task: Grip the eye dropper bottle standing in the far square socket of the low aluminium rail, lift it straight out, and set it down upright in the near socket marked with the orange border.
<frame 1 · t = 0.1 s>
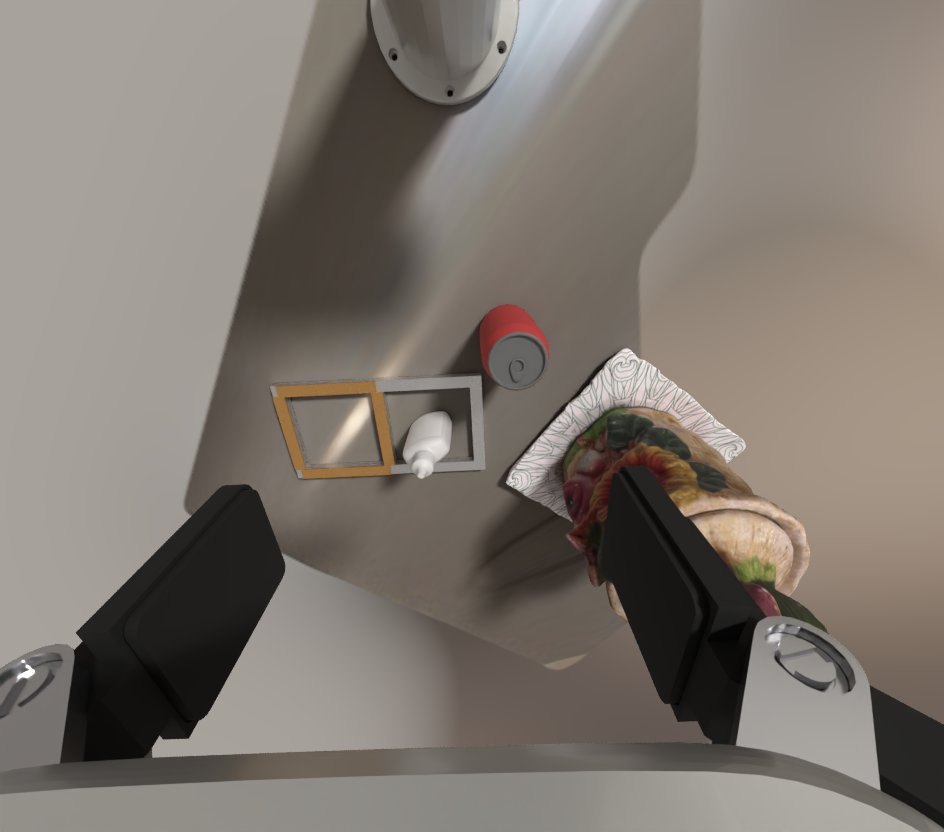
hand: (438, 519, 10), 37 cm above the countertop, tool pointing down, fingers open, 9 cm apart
beer can: (506, 331, 45), on the countertop
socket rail: (385, 426, 50), on the countertop
cookie jar: (618, 456, 53), on the countertop
eye dropper bottle: (431, 423, 50), resting in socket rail
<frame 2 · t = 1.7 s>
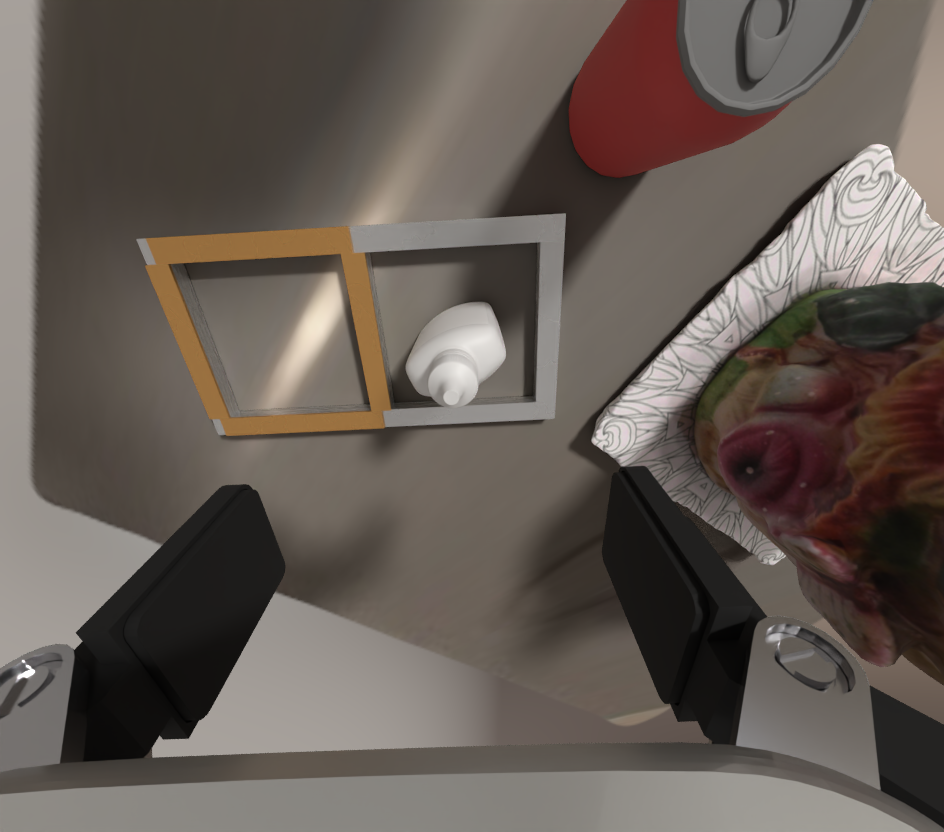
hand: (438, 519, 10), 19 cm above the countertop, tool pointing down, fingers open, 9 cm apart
beer can: (622, 111, 21), on the countertop
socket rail: (373, 334, 27), on the countertop
cookie jar: (791, 395, 29), on the countertop
eye dropper bottle: (459, 329, 27), resting in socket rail
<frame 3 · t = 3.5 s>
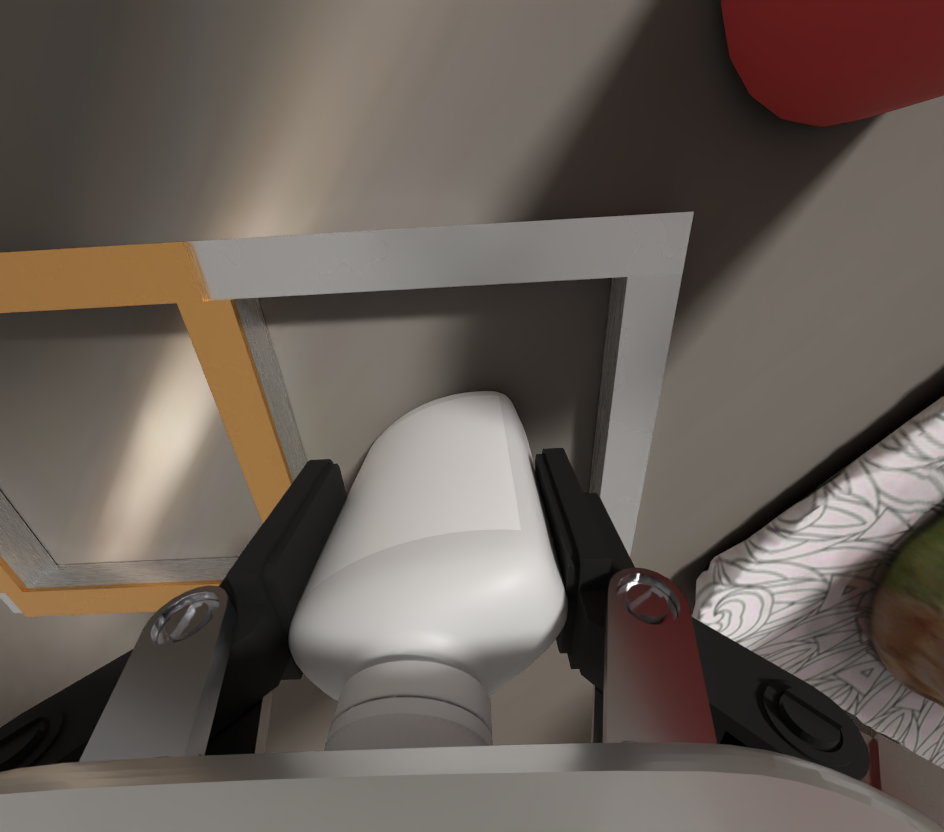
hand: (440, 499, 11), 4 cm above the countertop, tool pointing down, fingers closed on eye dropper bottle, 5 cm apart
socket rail: (281, 446, 14), on the countertop
eye dropper bottle: (447, 436, 14), resting in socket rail, touching gripper
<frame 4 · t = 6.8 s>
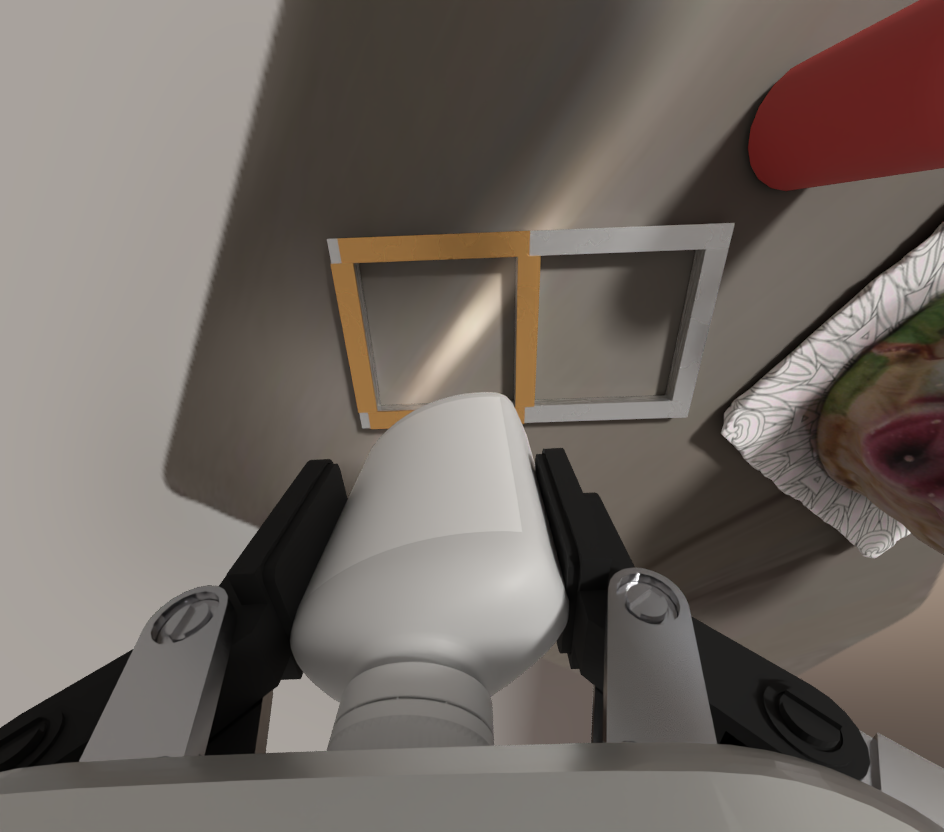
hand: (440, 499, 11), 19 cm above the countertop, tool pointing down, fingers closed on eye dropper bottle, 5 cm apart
beer can: (795, 130, 23), on the countertop
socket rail: (524, 333, 28), on the countertop
cookie jar: (909, 392, 31), on the countertop
eye dropper bottle: (448, 437, 14), point 16 cm above the countertop, touching gripper
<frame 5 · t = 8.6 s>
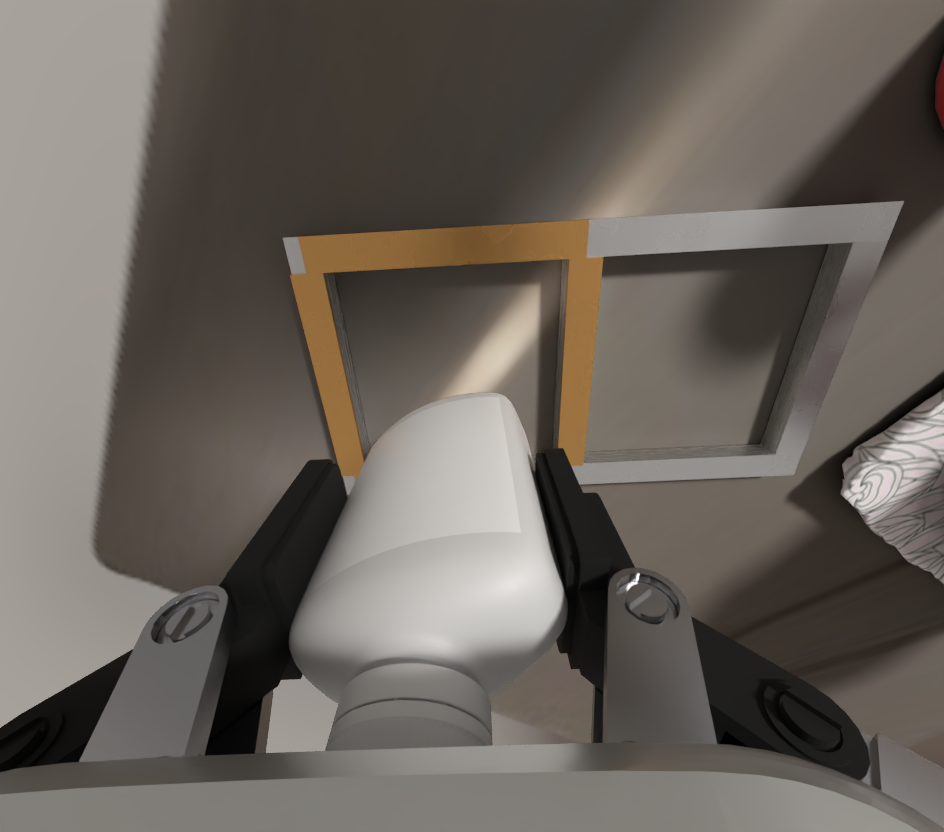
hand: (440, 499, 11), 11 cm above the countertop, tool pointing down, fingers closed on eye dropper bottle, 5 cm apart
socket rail: (570, 366, 20), on the countertop
eye dropper bottle: (447, 437, 14), point 7 cm above the countertop, touching gripper
when the fingers open (5 cm above the countertop, at t = 10.1 s): eye dropper bottle drops 1 cm, resting in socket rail.
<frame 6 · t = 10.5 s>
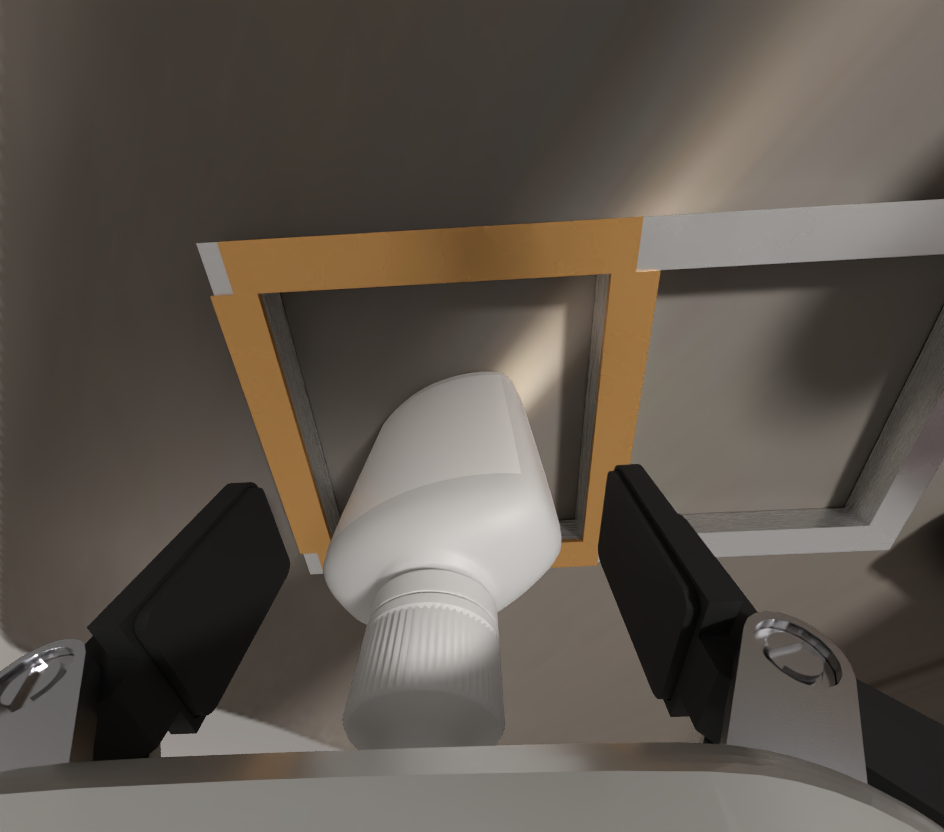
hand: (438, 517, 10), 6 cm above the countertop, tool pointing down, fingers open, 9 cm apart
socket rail: (602, 413, 15), on the countertop
eye dropper bottle: (453, 414, 15), resting in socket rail
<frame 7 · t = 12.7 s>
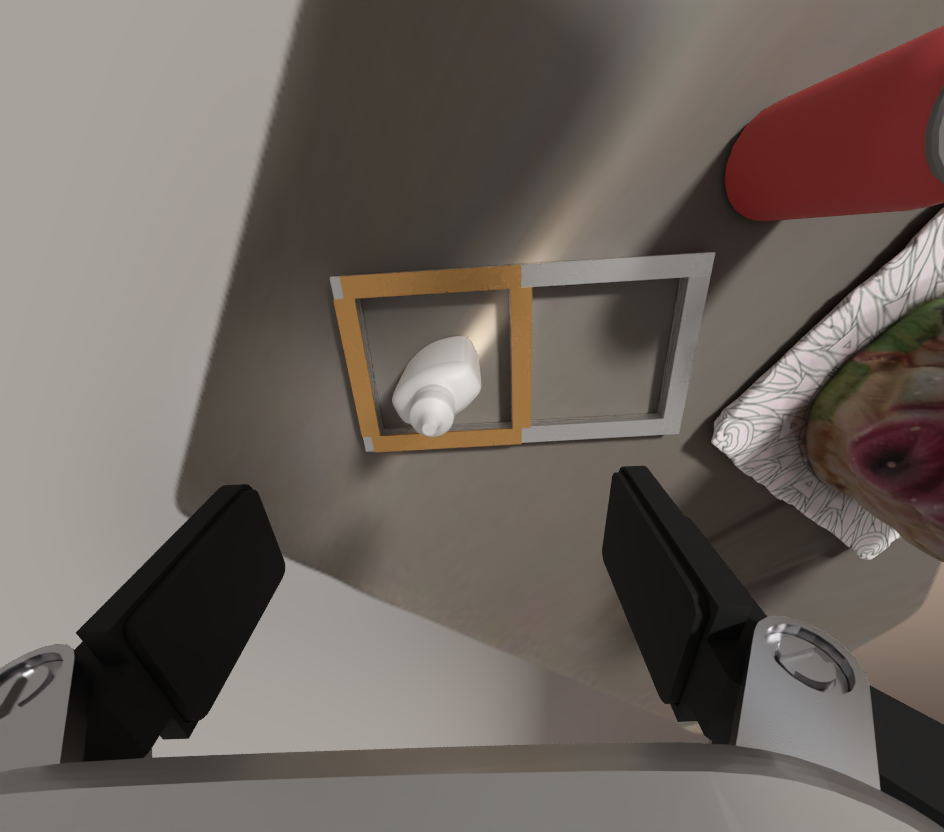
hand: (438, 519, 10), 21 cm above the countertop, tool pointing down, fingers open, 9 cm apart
beer can: (768, 165, 24), on the countertop
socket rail: (519, 358, 29), on the countertop
cookie jar: (894, 397, 31), on the countertop
eye dropper bottle: (443, 360, 30), resting in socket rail
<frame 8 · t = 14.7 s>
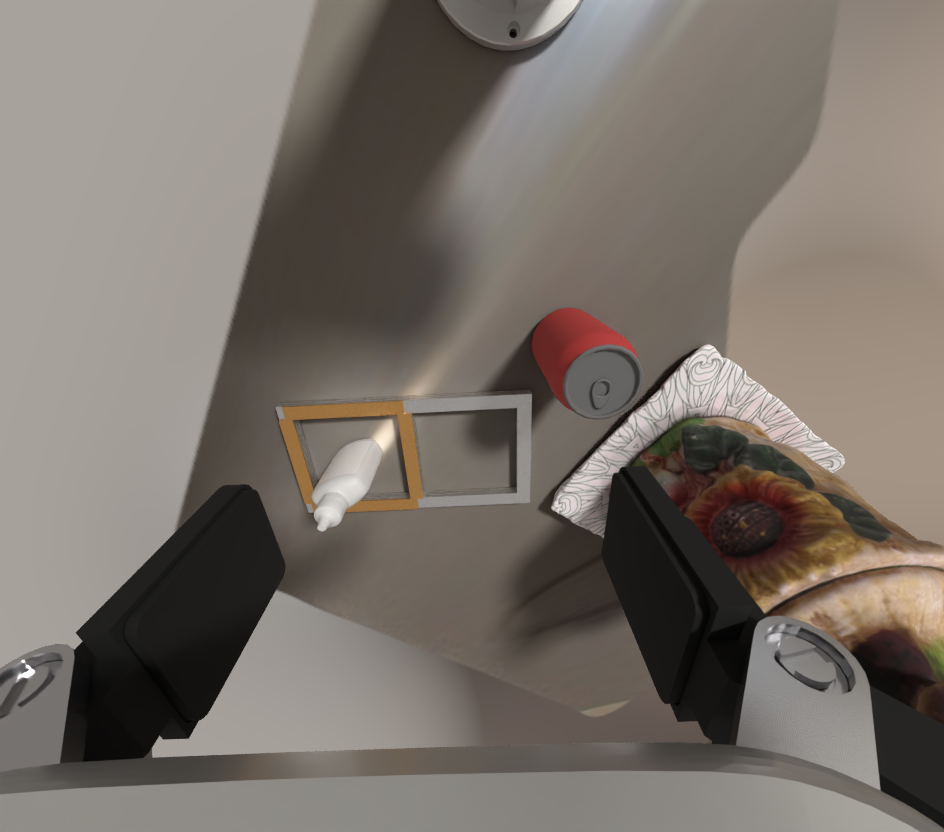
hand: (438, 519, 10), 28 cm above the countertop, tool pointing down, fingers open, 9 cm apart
beer can: (563, 340, 37), on the countertop
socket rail: (412, 452, 42), on the countertop
cookie jar: (685, 475, 44), on the countertop
eye dropper bottle: (360, 452, 42), resting in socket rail
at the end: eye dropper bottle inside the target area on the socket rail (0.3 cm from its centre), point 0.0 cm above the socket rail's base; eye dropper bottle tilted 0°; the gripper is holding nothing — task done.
